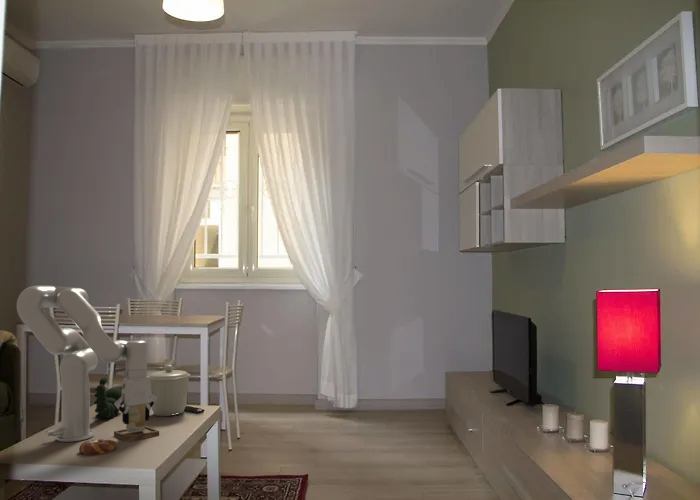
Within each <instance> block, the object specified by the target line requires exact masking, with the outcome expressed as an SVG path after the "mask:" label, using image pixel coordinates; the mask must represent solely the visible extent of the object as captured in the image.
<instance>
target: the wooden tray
mask: <svg viewBox="0 0 700 500" xmlns="http://www.w3.org/2000/svg"><path fill="white" fill-rule="evenodd" d="M113 436H114V437H116V438H118V439H121V440H123V441H125V442H127V443H128V442H133V441H137V440H143V439H147V438H153V437H158V436H160V430H158V429H156V428H154V427H150V426H148V425H145V431H135V432H127V430H126V428H124V429H119V430H114V431H113Z"/></svg>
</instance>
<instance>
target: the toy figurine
mask: <svg viewBox="0 0 700 500" xmlns="http://www.w3.org/2000/svg"><path fill="white" fill-rule="evenodd" d="M107 381H108V378H107V377H106V376H104V377H102V378H100V380H99V382H98V383H99V384H98V385H97V386H96V387H95V388H94V391H96V393H94V395H93V397H95V398H96V400H94V402H93V404H94V405H96V406H95V407H96V408H95V409H94V412H95V413H96V415H95V418H96V419H103V418H105V419H109V418H110V419H114V418H115V417H116V415H118V414H119V412H120V410H119V409H118V408H117V407H116V406H115V405H114V403H115V402H116V401H117V400H118V399H119V398H120V397H121V396H122V388H121V389H120V388H119V387H110V388H108V389H107V388H106V386H105V385H106V383H107ZM106 389H107V390H106ZM120 405H121V406H122V407H123V406H124V405H123V404H122V402H121V403H120Z"/></svg>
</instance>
